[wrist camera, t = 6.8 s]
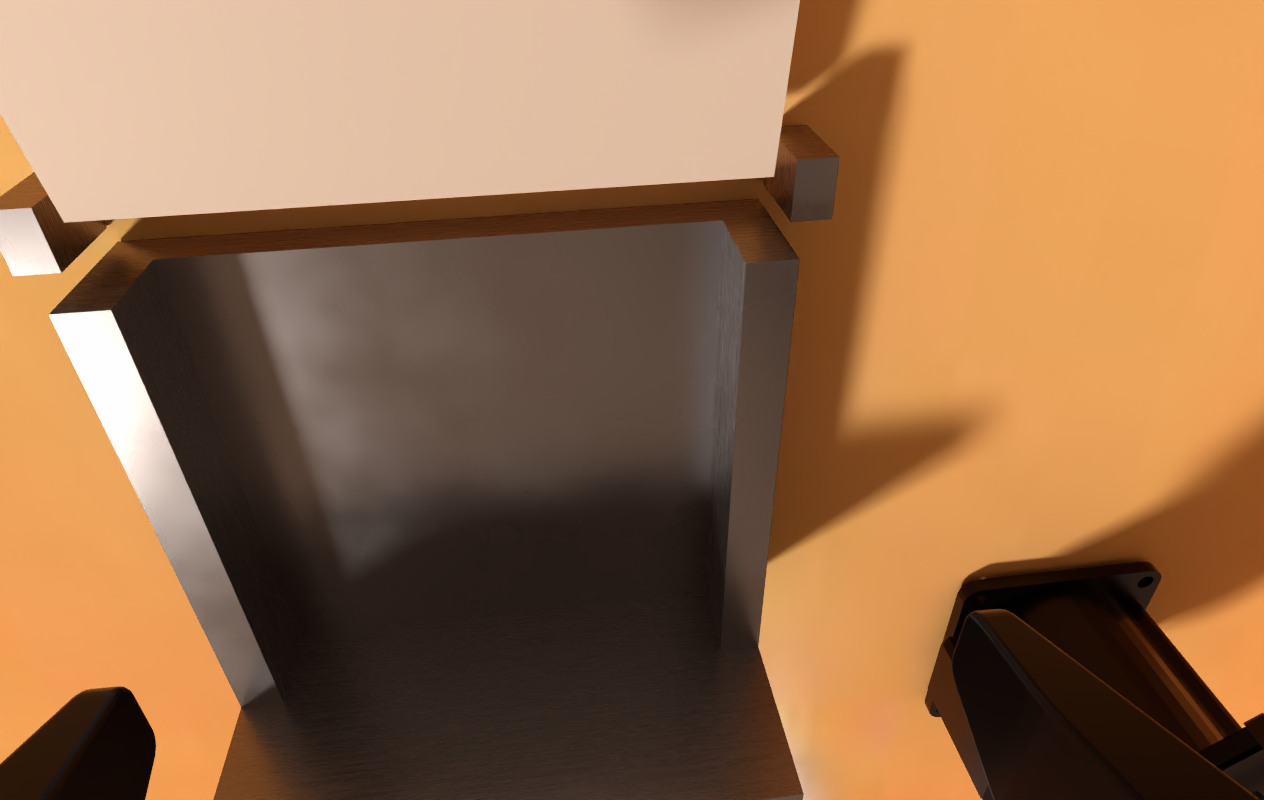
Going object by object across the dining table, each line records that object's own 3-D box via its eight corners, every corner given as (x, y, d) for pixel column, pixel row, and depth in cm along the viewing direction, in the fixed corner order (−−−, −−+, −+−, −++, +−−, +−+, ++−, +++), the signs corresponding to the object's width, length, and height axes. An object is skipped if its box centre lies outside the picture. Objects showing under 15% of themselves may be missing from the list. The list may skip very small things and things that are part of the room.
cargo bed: (760, 582, 24) (837, 812, 19) (247, 639, 23) (161, 905, 17) (806, 125, 17) (963, 279, 11) (36, 170, 15) (-245, 373, 10)
